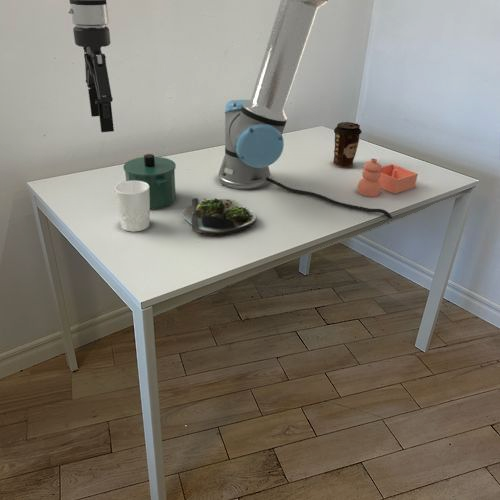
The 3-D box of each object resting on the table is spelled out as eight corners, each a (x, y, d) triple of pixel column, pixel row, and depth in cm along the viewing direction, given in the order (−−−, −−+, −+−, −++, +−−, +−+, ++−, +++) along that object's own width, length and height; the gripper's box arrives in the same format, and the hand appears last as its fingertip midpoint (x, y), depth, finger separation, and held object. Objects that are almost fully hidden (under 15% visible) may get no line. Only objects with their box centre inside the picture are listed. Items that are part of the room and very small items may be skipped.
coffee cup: (361, 164, 163) (367, 124, 156) (351, 171, 157) (356, 130, 150) (336, 158, 167) (341, 119, 160) (325, 165, 161) (330, 125, 154)
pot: (160, 183, 143) (158, 153, 139) (187, 207, 130) (186, 174, 126) (118, 192, 137) (114, 160, 133) (142, 217, 125) (140, 183, 120)
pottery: (389, 176, 154) (395, 145, 149) (414, 187, 147) (421, 155, 142) (348, 189, 144) (352, 156, 140) (373, 200, 138) (379, 166, 133)
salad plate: (165, 210, 128) (164, 194, 126) (226, 197, 136) (226, 181, 134) (199, 243, 114) (199, 225, 112) (265, 226, 122) (266, 209, 120)
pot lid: (163, 157, 138) (162, 144, 136) (184, 173, 128) (183, 159, 126) (116, 165, 131) (115, 151, 129) (135, 183, 122) (133, 168, 120)
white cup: (113, 231, 118) (108, 191, 113) (126, 216, 125) (122, 179, 120) (145, 234, 117) (142, 195, 112) (156, 219, 124) (154, 182, 119)
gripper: (65, 19, 117) (78, 111, 127) (81, 33, 97) (94, 140, 108) (98, 19, 119) (108, 109, 130) (120, 33, 100) (129, 137, 111)
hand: (102, 123), depth 119 cm, fingers open, 13 cm apart
